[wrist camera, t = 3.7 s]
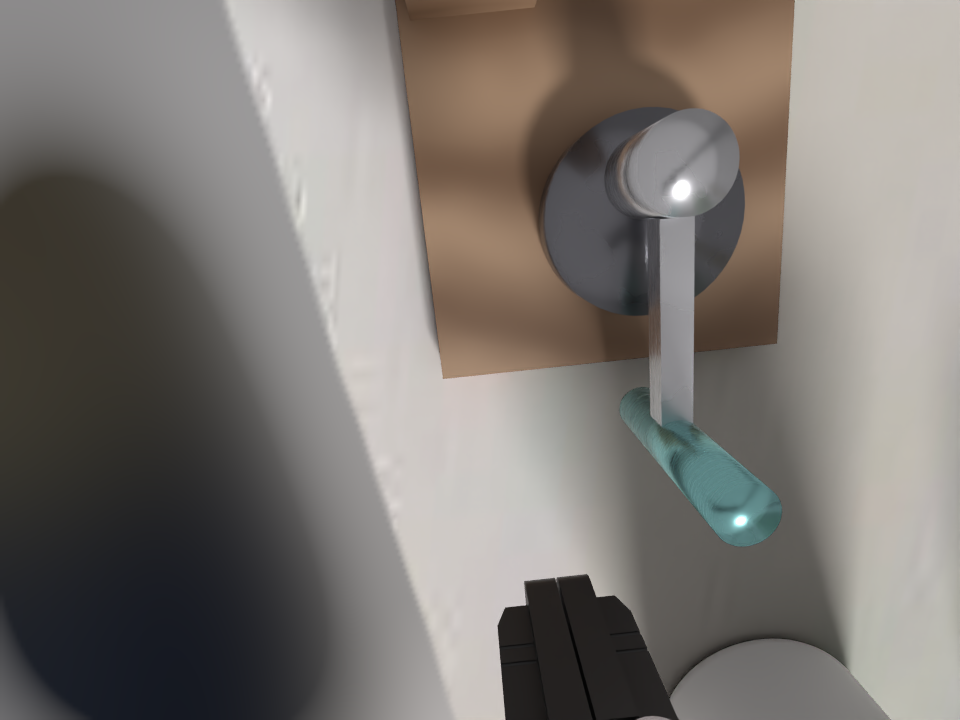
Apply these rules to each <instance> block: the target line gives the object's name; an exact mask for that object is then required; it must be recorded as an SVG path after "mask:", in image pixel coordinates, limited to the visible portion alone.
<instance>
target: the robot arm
mask: <svg viewBox="0 0 960 720" xmlns="http://www.w3.org/2000/svg"><path fill="white" fill-rule="evenodd" d="M524 585H525V597H526V605H525V606H516V607H507V608H505V609H504V612H503V614H502V617H501V619H500V621H499V624H498V636H499V648H500V660H501V671H502V683H503V695H504V707H505V718H506V720H679V719H678V717H677V715H676V713H675V711H674V708H673V706H672V704H671V701H670V699H669V697H668V695H667V692H666V690H665V688H664V686H663V683H662V681H661V679H660V676H659V674H658V672H657V670H656V667H655V665H654V663H653V661H652V658H651V656H650V654H649V651H647V647H646V645H645V642H644V640H643V638H642V636H641V635H640V632H639V629H638V626H637V624H636V622H635V620H634V617H633V615H632V613H631V611H630V610H629V609H628V608H627V607H626V606H625V605H624V604H623V603H622V602H621V601H620V600H619V599H618V598H617V597H615V596H605V597H596V595H595V592H594V589H593V586H592V584H591V581H590V578H589V576H588V575H587V574H585V575H576V576H566V577H557V579H556V580H555V578H550V579H540V580H531V581H524Z"/></svg>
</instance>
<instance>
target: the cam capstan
mask: <svg viewBox="0 0 960 720" xmlns="http://www.w3.org/2000/svg"><path fill="white" fill-rule="evenodd" d="M739 160H740V155H739V146H738V142H737V139H736V136H735V134H734V132H733V130H732V129H731V127H730V126H729V125H728V123H727V122H726V121H725V120H724V119H722V118H721V117H720V116H718V115H717V114H715V113H713V112H711V111H708V110H704V109H698V108H690V109H684V110H680V111H679V110H675V109H671V108H663V107H642V108H637V109H631V110H627V111H624V112H621V113H618V114H616V115H614V116H611V117H609V118H607V119H605V120H603V121H602V122H600V123H599V124H597V125H596V126H594V127H593V128H591V129H590V130H589V131H587V132H586V133H585V134H584V135H582V136H581V137H580V138H579V139H578V140H576V141H575V142H574V143H573V144H572V145H571V146H570V147H569V148H568V149H567V150H566V151H565V152H564V153H563V154H562V155H561V157H560V158H559V160H558V161H557V163H556V164H555V165H554V167H553V169H552V171H551V173H550V174H549V176H548V178H547V181H546V184H545V186H544V189H543V192H542V196H541V200H540V206H539V215H538V216H539V234H540V241H541V244H542V248H543V252H544V254H545V256H546V259H547V261H548V263H549V265H550V267H551V268H552V270H553V272H554V273H555V274H556V276H557V277H558V278H559V280H560V281H561V282H562V283H563V284H564V285H565V286H566V287H567V288H568V289H569V290H571V291H572V292H573V293H575V294H576V295H578V296H579V297H581V298H583V299H584V300H586V301H588V302H589V303H591V304H593V305H595V306H597V307H599V308H601V309H604V310H606V311H609V312H612V313H617V314H621V315H630V316H645V315H649V366H650V388H647V387H639V388H635V389H633V390H631V391H629V392H628V393H627V394H626V395H625V396H624V397H623V399H622V401H621V403H620V409H619V410H620V415H621V418H622V419H623V421H624V422H625V423H626V424H627V426H628V427H629V428H630V429H631V431H632V432H633V433H634V434H635V435H636V437H637V438H638V439H639V440H640V442H641V443H642V444H643V445H644V446H645V448H646V449H647V450H648V451H649V452H650V454H651V455H652V456H653V457H654V459H655V460H656V461H657V462H658V463H659V465H660V466H661V467H662V468H663V469H664V471H665V472H666V473H667V474H668V476H669V477H670V478H671V479H672V480H673V482H674V483H675V484H676V485H677V487H678V488H679V489H680V490H681V491H682V493H683V494H684V495H685V496H686V497H687V499H688V500H689V501H690V502H691V504H692V505H693V506H694V507H695V508H696V510H697V511H698V512H699V513H700V514H701V516H702V517H703V518H704V519H705V521H706V522H707V523H708V524H709V525H710V527H711V528H712V529H713V530H714V531H715V533H716V534H717V535H718V536H719V538H721V539H722V540H723V541H724V542H726V543H728V544H730V545H734V546H741V547H742V546H751V545H755V544H757V543H760V542H762V541H763V540H765V539H766V538H768V537H769V536H770V535H771V534H772V533H773V532H774V531H775V529H776V528H777V526H778V525H779V522H780V520H781V516H782V506H781V502H780V500H779V498H778V497H777V495H776V494H775V493H774V492H773V491H772V490H771V489H769V488H768V487H767V486H766V485H765V484H764V483H762V482H761V481H760V480H759V479H758V478H757V477H755V476H754V475H753V474H752V473H751V472H750V471H748V470H747V469H746V468H745V467H744V466H743V465H741V464H740V463H739V462H738V461H737V460H735V459H734V458H733V457H732V456H731V455H730V454H728V453H727V452H726V451H725V450H724V449H723V448H721V447H720V446H719V445H718V444H717V443H716V442H714V441H713V440H712V439H711V438H710V437H709V436H707V435H706V434H705V433H704V432H703V431H702V430H700V429H699V428H698V427H697V426H696V425H695V424H693V382H694V298H695V297H696V296H697V295H699V294H700V293H701V292H703V291H704V290H705V289H706V288H707V287H708V286H709V285H710V284H711V283H712V282H713V281H714V280H715V279H716V278H717V277H718V275H719V274H720V273H721V272H722V271H723V269H724V268H725V266H726V264H727V263H728V261H729V260H730V258H731V256H732V254H733V252H734V250H735V248H736V246H737V243H738V240H739V237H740V234H741V230H742V226H743V221H744V212H745V192H744V185H743V179H742V176H741V172H740V169H739Z"/></svg>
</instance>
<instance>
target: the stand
mask: <svg viewBox="0 0 960 720" xmlns="http://www.w3.org/2000/svg"><path fill="white" fill-rule="evenodd" d="M395 3H396V11H397V19H398V27H399V35H400V42H401V50H402V58H403V66H404V74H405V82H406V90H407V98H408V106H409V113H410V121H411V129H412V137H413V145H414V153H415V161H416V169H417V177H418V184H419V192H420V200H421V208H422V216H423V224H424V232H425V240H426V248H427V255H428V263H429V271H430V279H431V287H432V295H433V303H434V311H435V319H436V326H437V334H438V342H439V350H440V358H441V366H442V374H443V379H447V378H456V377H466V376H475V375H484V374H494V373H503V372H513V371H522V370H532V369H541V368H550V367H560V366H569V365H579V364H588V363H598V362H607V361H616V360H626V359H635V358H645V357H649V315H645V316H630V315H621V314H617V313H612V312H609V311H606V310H604V309H601V308H599V307H597V306H595V305H593V304H591V303H589V302H588V301H586V300H584V299H583V298H581V297H579V296H578V295H576V294H575V293H573V292H572V291H571V290H569V289H568V288H567V287H566V286H565V285H564V284H563V283H562V282H561V281H560V280H559V278H558V277H557V276H556V274H555V273H554V272H553V270H552V268H551V267H550V265H549V263H548V261H547V259H546V256H545V254H544V252H543V248H542V244H541V241H540V234H539V216H538V215H539V206H540V200H541V196H542V192H543V189H544V186H545V184H546V181H547V178H548V176H549V174H550V173H551V171H552V169H553V167H554V165H555V164H556V163H557V161H558V160H559V158H560V157H561V155H562V154H563V153H564V152H565V151H566V150H567V149H568V148H569V147H570V146H571V145H572V144H573V143H574V142H575V141H576V140H578V139H579V138H580V137H581V136H582V135H584V134H585V133H586V132H587V131H589V130H590V129H591V128H593V127H594V126H596V125H597V124H599V123H600V122H602V121H603V120H605V119H607V118H609V117H611V116H614V115H616V114H618V113H621V112H624V111H627V110H631V109H637V108H642V107H663V108H671V109H675V110H679V111H680V110H684V109H690V108H698V109H704V110H708V111H711V112H713V113H715V114H717V115H718V116H720V117H721V118H722V119H724V120H725V121H726V122H727V123H728V125H729V126H730V127H731V129H732V130H733V132H734V134H735V136H736V139H737V142H738V146H739V155H740V160H739V169H740V172H741V176H742V179H743V185H744V192H745V212H744V221H743V226H742V230H741V234H740V237H739V240H738V243H737V246H736V248H735V250H734V252H733V254H732V256H731V258H730V260H729V261H728V263H727V264H726V266H725V268H724V269H723V271H722V272H721V273H720V274H719V275H718V277H717V278H716V279H715V280H714V281H713V282H712V283H711V284H710V285H709V286H708V287H707V288H706V289H705V290H704V291H703V292H701V293H700V294H699V295H697V296H696V297H695V298H694V352H701V351H711V350H720V349H730V348H739V347H748V346H758V345H767V344H777V332H778V313H779V294H780V274H781V255H782V235H783V216H784V197H785V177H786V158H787V138H788V119H789V100H790V80H791V61H792V42H793V22H794V3H795V0H395Z"/></svg>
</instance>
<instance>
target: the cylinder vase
mask: <svg viewBox="0 0 960 720" xmlns="http://www.w3.org/2000/svg"><path fill="white" fill-rule="evenodd" d="M670 701H671V704H672V706H673V708H674V711H675V713H676V715H677V717H678V719H679V720H891V719H890V718H889V717H888V716H887V715H886V713H885V712H884V711H883V710H882V709H881V708H880V706H879V705H878V704H877V703H876V702H875V701H874V700H873V698H872V697H871V696H870V695H869V694H868V693H867V691H866V690H865V689H864V688H863V687H862V686H861V685H860V683H859V682H858V681H857V680H856V679H855V678H854V676H853V675H852V674H851V673H850V672H849V671H848V670H847V669H846V667H845V666H844V665H843V664H841V663H840V662H839V661H838V660H837V659H835V658H834V657H833V656H831V655H830V654H828V653H826V652H825V651H823V650H821V649H819V648H817V647H814V646H812V645H809V644H806V643H802V642H798V641H794V640H787V639H759V640H752V641H747V642H743V643H739V644H736V645H733V646H730V647H727V648H725V649H722V650H720V651H718V652H716V653H714V654H712V655H711V656H709V657H707V658H706V659H704V660H703V661H701V662H700V663H699V664H697V665H696V666H695V667H694V668H693V669H692V670H690V671H689V672H688V673H687V674H686V675H685V676H684V678H683V679H682V680H681V681H680V682H679V684H678V685H677V687H676V688H675V690H674V691H673V693H672V695H671V697H670Z"/></svg>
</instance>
